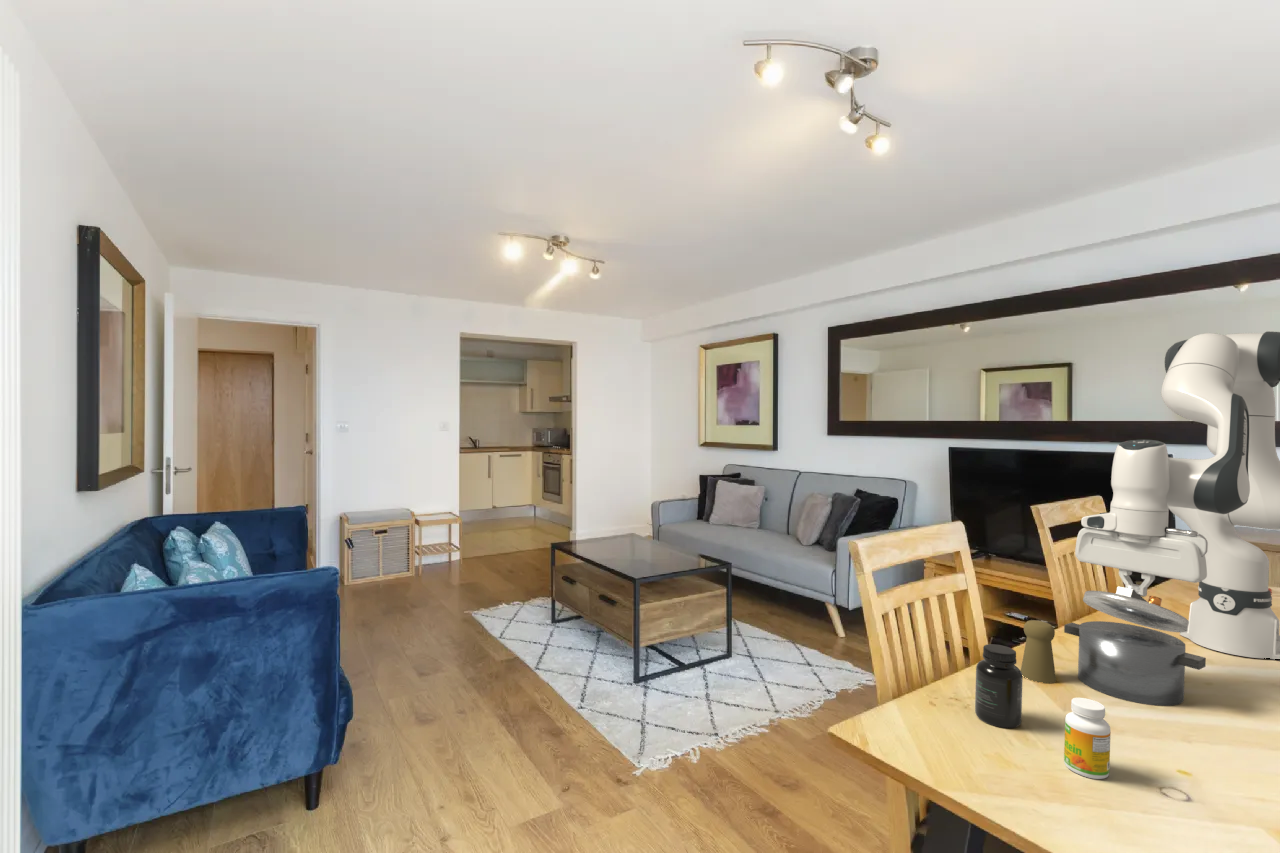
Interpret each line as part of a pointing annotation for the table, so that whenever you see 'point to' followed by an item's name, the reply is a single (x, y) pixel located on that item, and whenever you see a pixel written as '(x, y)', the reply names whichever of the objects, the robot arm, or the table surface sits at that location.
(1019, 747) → the table surface
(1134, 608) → the cooker lid
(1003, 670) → the supplement bottle
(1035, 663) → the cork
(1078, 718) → the supplement bottle
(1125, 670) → the cooker pot
